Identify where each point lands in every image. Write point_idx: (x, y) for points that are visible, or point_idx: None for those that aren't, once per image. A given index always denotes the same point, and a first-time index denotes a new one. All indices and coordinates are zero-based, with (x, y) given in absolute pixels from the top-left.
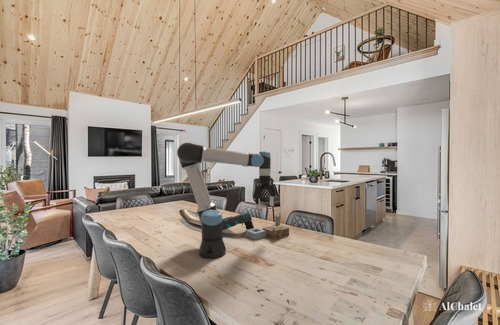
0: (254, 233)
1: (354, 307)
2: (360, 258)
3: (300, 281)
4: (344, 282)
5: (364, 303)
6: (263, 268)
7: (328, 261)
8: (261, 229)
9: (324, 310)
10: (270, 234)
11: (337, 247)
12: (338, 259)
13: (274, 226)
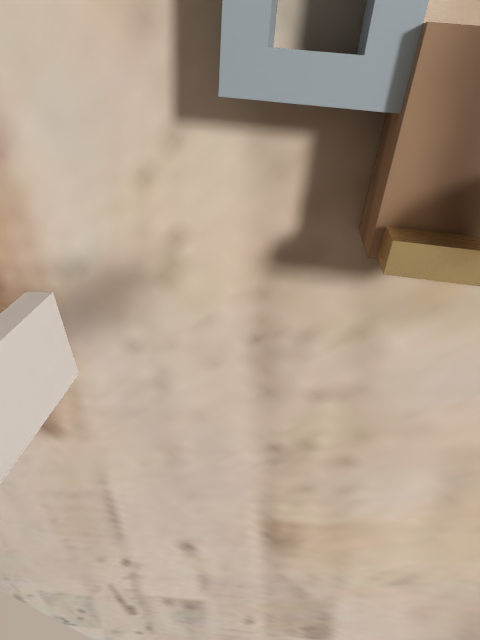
0: (219, 83)
1: (85, 614)
2: (369, 604)
3: (62, 531)
4: (161, 594)
5: (115, 623)
6: None
7: (259, 548)
8: (411, 14)
9: (24, 587)
10: (377, 182)
11: (450, 542)
12: (304, 565)
13: (422, 244)
